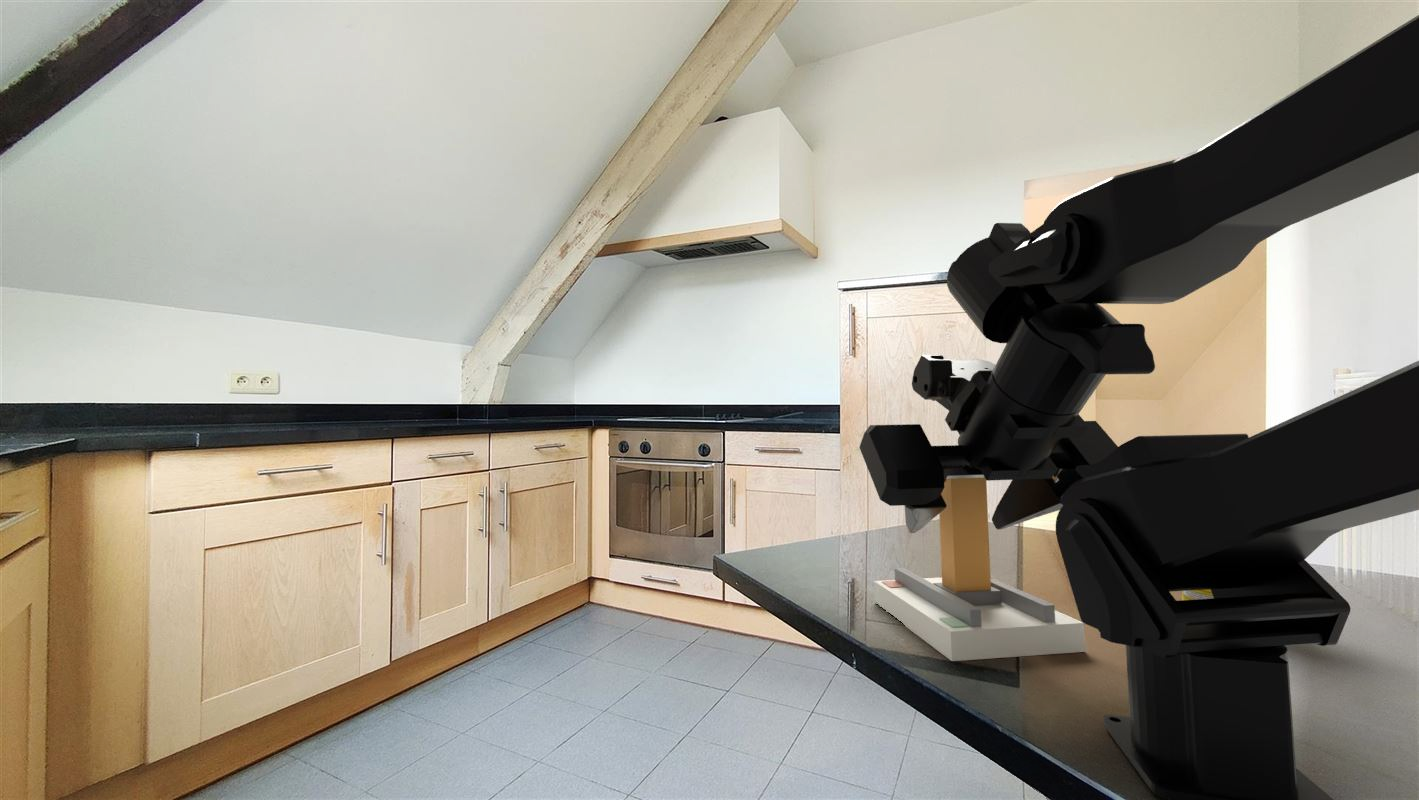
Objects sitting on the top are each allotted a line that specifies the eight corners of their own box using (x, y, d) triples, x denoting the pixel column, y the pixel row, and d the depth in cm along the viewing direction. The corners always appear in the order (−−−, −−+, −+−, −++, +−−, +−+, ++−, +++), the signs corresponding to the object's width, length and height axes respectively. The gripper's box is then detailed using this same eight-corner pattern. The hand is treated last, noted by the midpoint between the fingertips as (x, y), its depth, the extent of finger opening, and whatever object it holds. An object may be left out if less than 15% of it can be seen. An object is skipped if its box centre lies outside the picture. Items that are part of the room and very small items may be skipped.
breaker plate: (1085, 651, 40) (1082, 605, 40) (951, 661, 38) (949, 613, 39) (977, 597, 52) (975, 562, 53) (874, 603, 51) (873, 567, 51)
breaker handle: (1001, 603, 44) (994, 450, 45) (953, 606, 44) (947, 452, 44) (979, 592, 47) (972, 449, 48) (933, 595, 47) (928, 450, 47)
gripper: (1094, 317, 44) (1009, 453, 54) (864, 316, 42) (822, 458, 52) (1199, 415, 36) (1075, 553, 46) (920, 420, 33) (857, 564, 44)
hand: (953, 526), depth 47 cm, fingers open, 7 cm apart
